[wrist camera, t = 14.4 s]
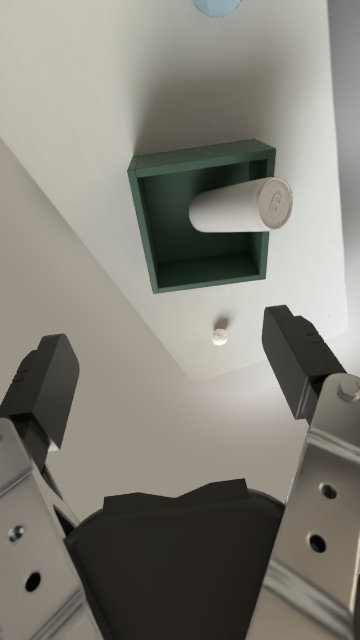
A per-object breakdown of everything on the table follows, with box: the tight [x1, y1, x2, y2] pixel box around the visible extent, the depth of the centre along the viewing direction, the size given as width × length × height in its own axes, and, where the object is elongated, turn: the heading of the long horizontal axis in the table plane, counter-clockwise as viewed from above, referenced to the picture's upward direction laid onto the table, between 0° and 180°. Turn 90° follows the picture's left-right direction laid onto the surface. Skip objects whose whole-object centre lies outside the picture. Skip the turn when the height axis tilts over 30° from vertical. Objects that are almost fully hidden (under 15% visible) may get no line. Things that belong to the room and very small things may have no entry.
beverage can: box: [189, 177, 293, 232], centre depth 31 cm, size 5×5×12 cm
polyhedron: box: [212, 329, 228, 345], centre depth 51 cm, size 3×3×3 cm
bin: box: [127, 139, 276, 294], centre depth 35 cm, size 15×15×8 cm
